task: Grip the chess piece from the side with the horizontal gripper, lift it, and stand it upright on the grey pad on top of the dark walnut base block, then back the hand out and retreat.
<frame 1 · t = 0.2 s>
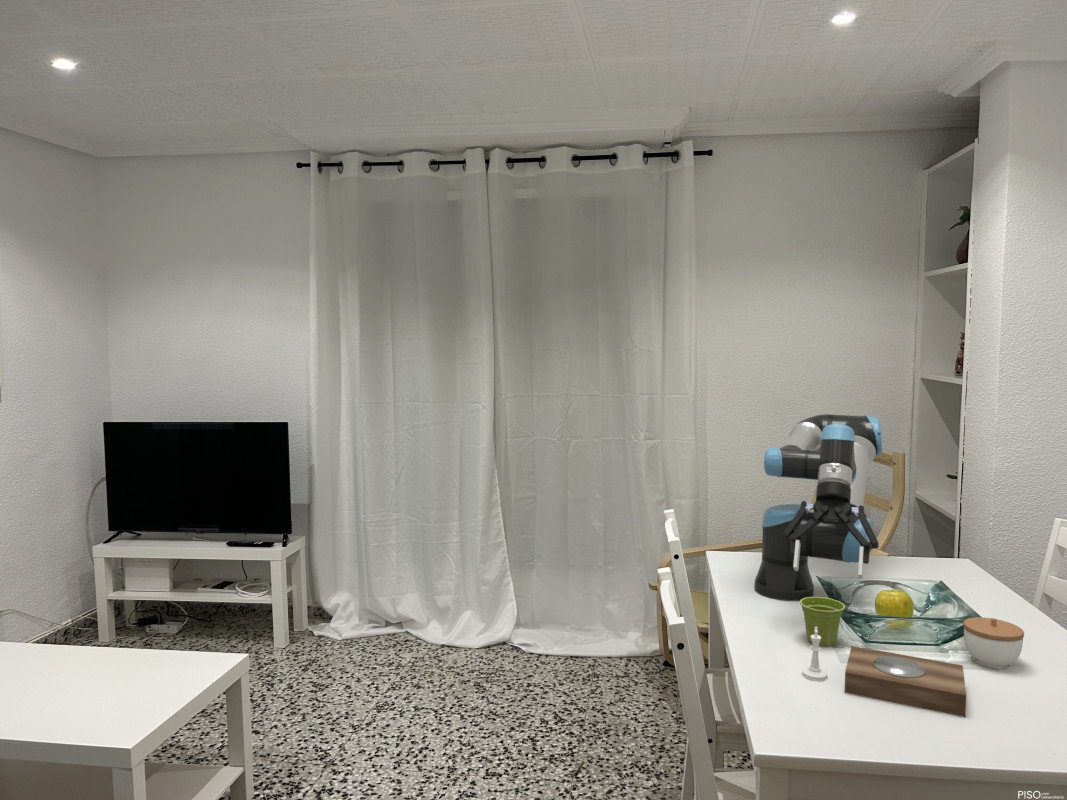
hand: (827, 573, 167), 15 cm above the table, tool tilted 35°, fingers open, 13 cm apart
plant pot: (820, 642, 166), on the table
chess piece: (814, 676, 149), on the table
walnut base: (903, 688, 144), on the table
lidded jar: (991, 663, 156), on the table
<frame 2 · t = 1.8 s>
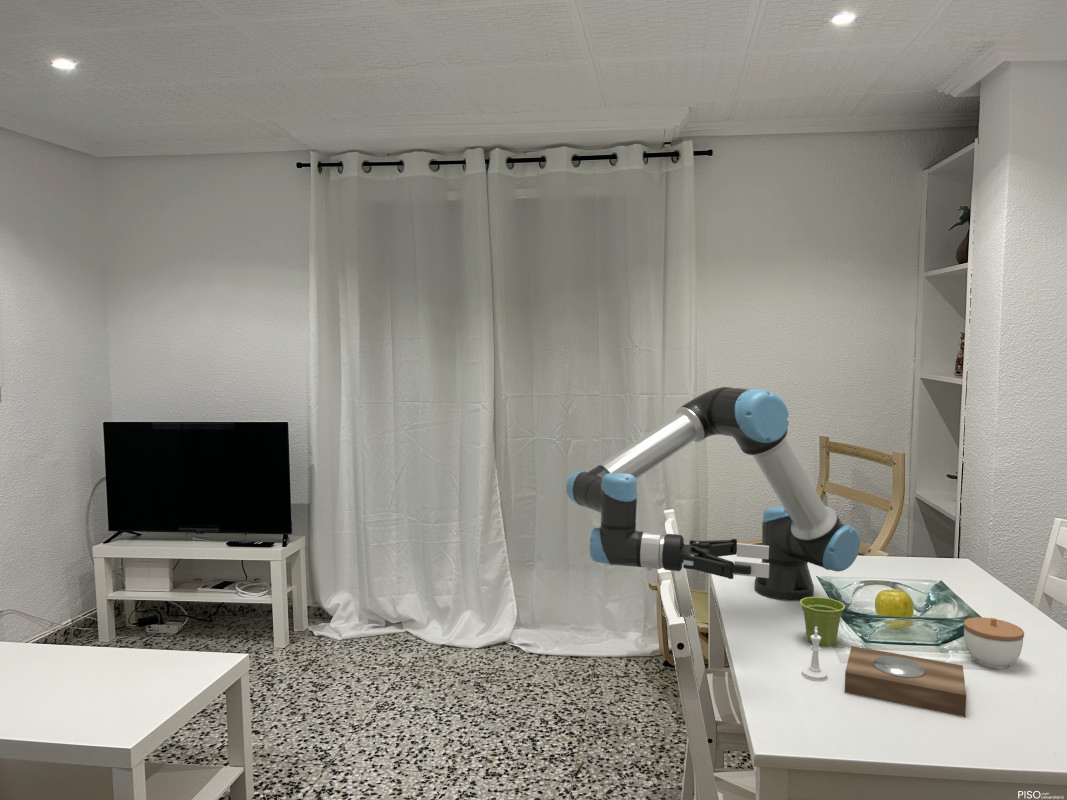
hand: (769, 561, 150), 23 cm above the table, tool horizontal, fingers open, 13 cm apart
nothing on the table moved.
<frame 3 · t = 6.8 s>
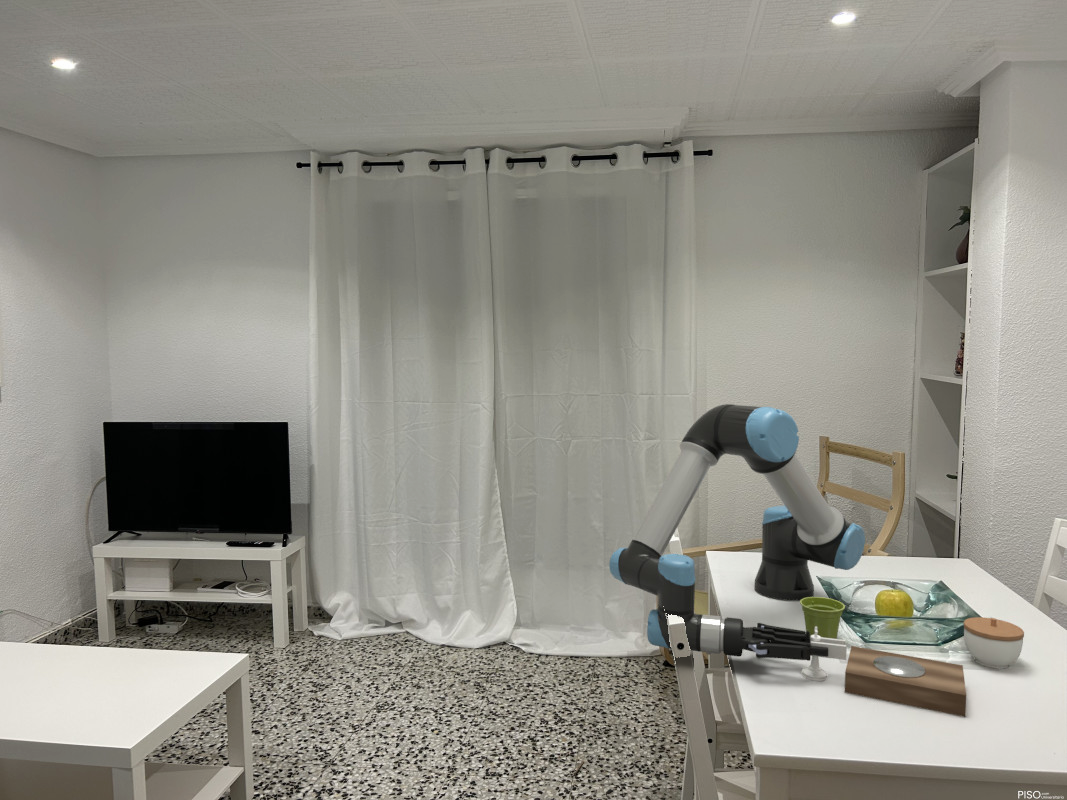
hand: (845, 649, 147), 6 cm above the table, tool horizontal, fingers closed on chess piece, 2 cm apart
chess piece: (814, 676, 149), on the table, touching gripper
everything else where it was.
when the fingers open (12 cm above the table, at t = 10.7 s): chess piece drops 1 cm, resting on walnut base.
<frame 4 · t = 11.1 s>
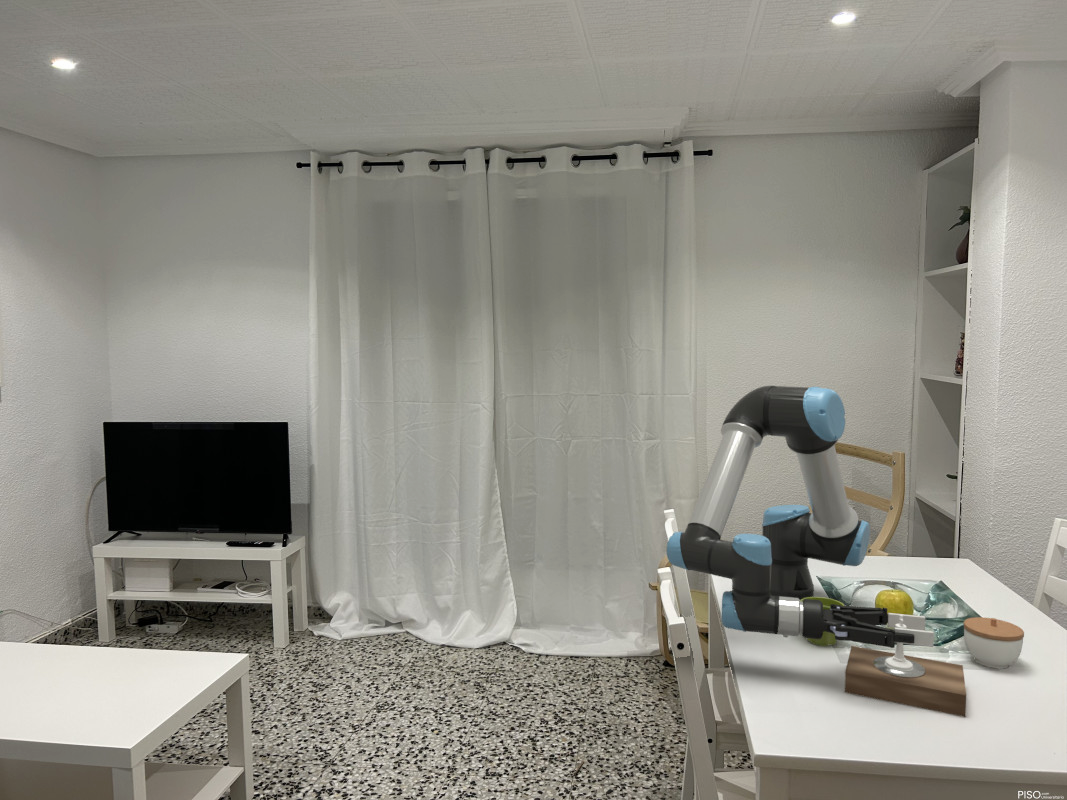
hand: (928, 631, 142), 12 cm above the table, tool horizontal, fingers open, 7 cm apart
chess piece: (898, 667, 144), point 4 cm above the table, touching walnut base
everything else where it was.
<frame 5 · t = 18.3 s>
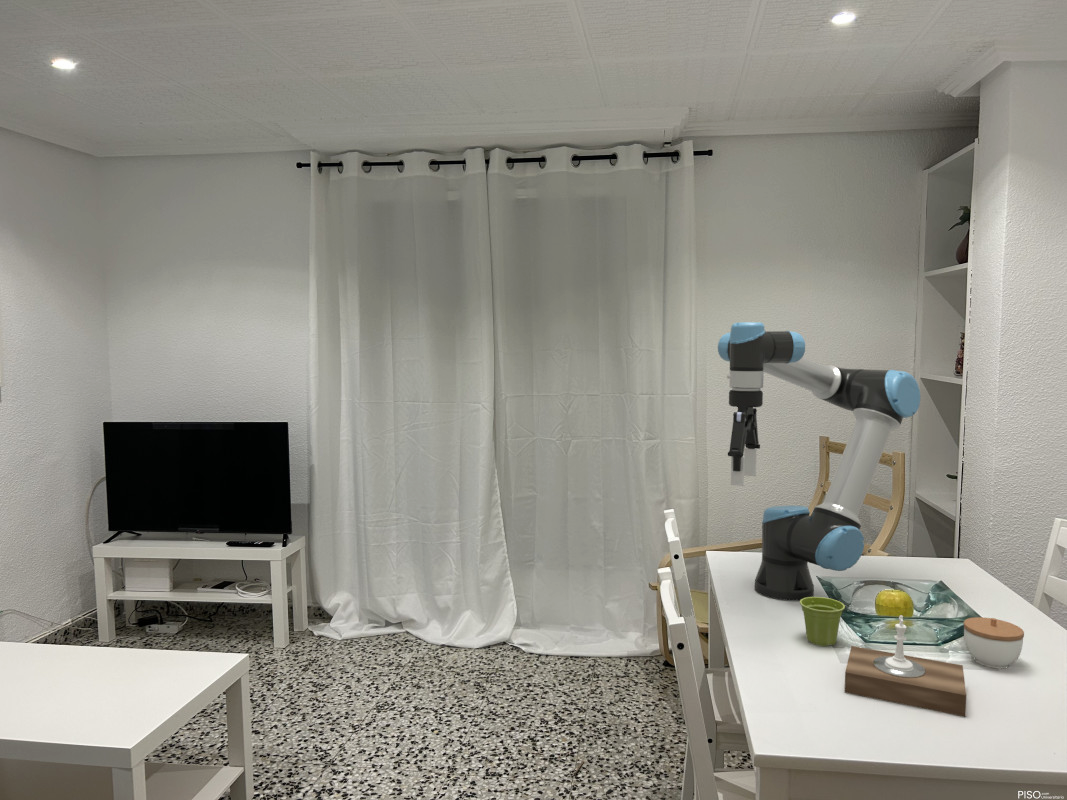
hand: (743, 480, 173), 35 cm above the table, tool pointing down, fingers open, 13 cm apart
nothing on the table moved.
at the end: chess piece inside the target area on the walnut base (1.0 cm from its centre), point 4.1 cm above the walnut base's base; chess piece tilted 1°; the gripper is holding nothing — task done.
